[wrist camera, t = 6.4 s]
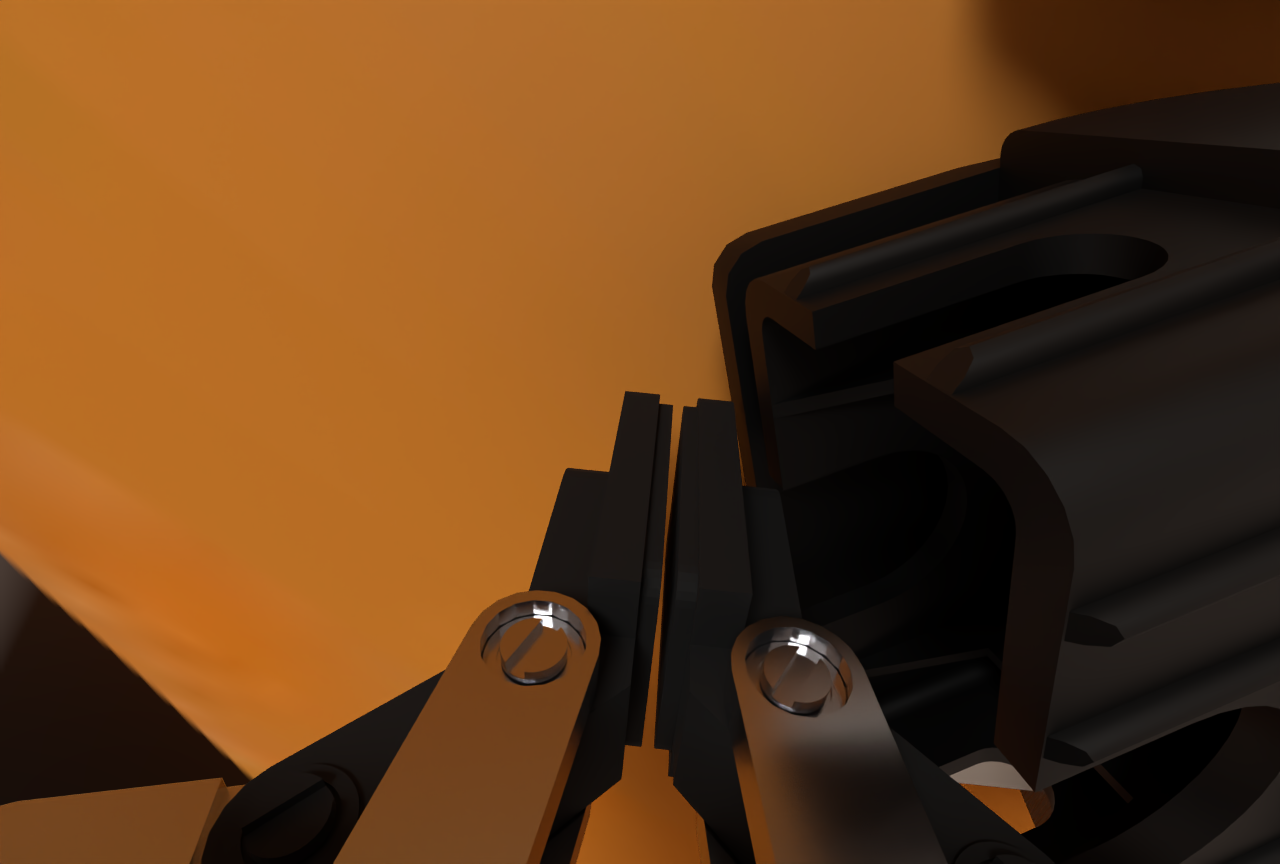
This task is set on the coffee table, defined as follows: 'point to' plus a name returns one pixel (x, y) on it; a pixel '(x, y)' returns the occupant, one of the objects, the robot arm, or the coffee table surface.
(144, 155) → the coffee table surface
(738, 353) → the end cap
